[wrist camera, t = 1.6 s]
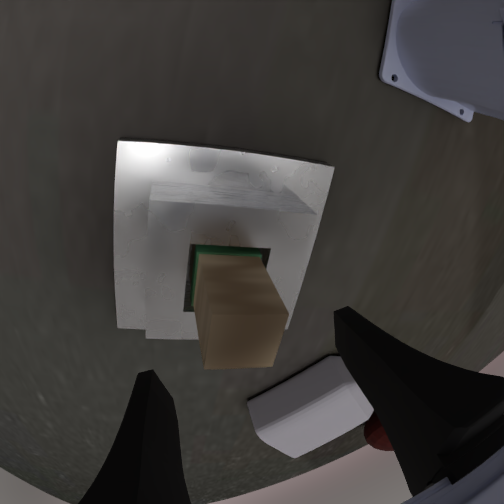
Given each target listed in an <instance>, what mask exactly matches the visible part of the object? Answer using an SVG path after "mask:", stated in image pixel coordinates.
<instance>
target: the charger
mask: <svg viewBox="0 0 504 504" xmlns="http://www.w3.org/2000/svg"><path fill="white" fill-rule="evenodd" d="M247 405H248V408H249V412H250V415H251V419H252V422H253V425H254V428H255V431H256V433H257V435H258V436H259V437H260V439H262V440H263V441H264V442H265V443H267V444H268V445H270V446H272V447H274V448H276V449H277V450H279V451H281V452H283V453H285V454H287V455H289V456H290V457H292V458H297V457H299V456H301V455H303V454H305V453H307V452H309V451H311V450H313V449H315V448H317V447H319V446H321V445H323V444H325V443H327V442H329V441H331V440H333V439H335V438H337V437H338V436H340V435H342V434H344V433H346V432H348V431H349V430H351V429H353V428H355V427H356V426H358V425H360V424H362V423H363V422H365V421H367V420H368V419H369V418H370V416H371V414H372V413H373V411H374V409H373V407H372V406H371V404H370V403H369V401H368V400H367V398H366V397H365V395H364V394H363V392H362V391H361V389H360V388H359V386H358V385H357V383H356V382H355V380H354V379H353V377H352V376H351V374H350V372H349V371H348V369H347V368H346V366H345V364H344V362H343V360H342V358H341V356H328V357H326V358H325V359H323V360H322V361H320V362H318V363H316V364H315V365H313V366H311V367H310V368H308V369H306V370H305V371H303V372H301V373H299V374H298V375H296V376H294V377H292V378H290V379H289V380H287V381H285V382H283V383H281V384H280V385H278V386H276V387H274V388H272V389H270V390H268V391H267V392H265V393H263V394H261V395H259V396H257V397H255V398H253V399H251V400H249V401H247Z"/></svg>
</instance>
